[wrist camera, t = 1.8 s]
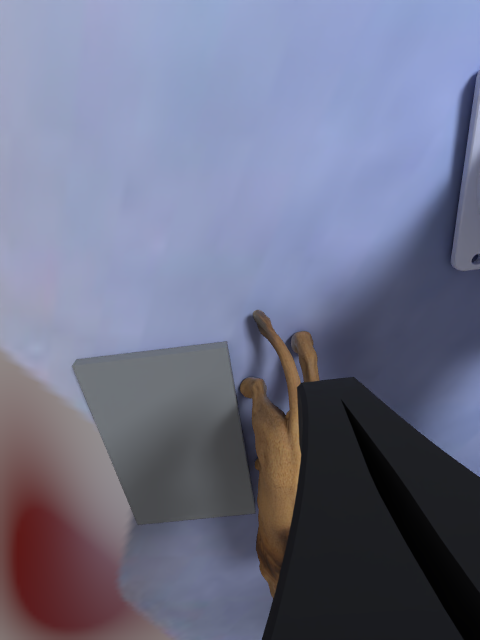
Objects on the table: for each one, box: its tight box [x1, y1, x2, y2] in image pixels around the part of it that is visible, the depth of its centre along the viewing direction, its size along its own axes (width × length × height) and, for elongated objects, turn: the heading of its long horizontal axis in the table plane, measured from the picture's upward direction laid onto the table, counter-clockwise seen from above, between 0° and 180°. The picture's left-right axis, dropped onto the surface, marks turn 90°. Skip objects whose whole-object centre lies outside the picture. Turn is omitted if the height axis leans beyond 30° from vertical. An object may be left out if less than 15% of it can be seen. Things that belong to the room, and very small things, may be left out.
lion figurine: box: [240, 310, 320, 598], centre depth 17 cm, size 15×5×9 cm, turn 15°
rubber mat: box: [72, 341, 255, 525], centre depth 21 cm, size 8×13×1 cm, turn 8°
